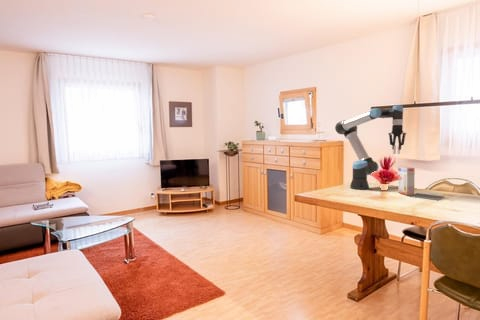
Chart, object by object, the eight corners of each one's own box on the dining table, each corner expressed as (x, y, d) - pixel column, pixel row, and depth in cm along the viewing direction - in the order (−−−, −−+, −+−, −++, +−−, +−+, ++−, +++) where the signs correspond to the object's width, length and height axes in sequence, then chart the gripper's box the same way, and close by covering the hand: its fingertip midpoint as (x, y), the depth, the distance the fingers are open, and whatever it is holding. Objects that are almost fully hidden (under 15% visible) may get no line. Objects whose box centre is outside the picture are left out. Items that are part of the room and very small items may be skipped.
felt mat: (409, 196, 236) (409, 196, 236) (416, 193, 247) (416, 193, 247) (438, 200, 222) (438, 199, 222) (444, 197, 233) (444, 196, 233)
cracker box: (414, 195, 238) (415, 167, 237) (406, 195, 238) (406, 168, 237) (405, 192, 252) (405, 166, 251) (398, 192, 252) (397, 166, 251)
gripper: (385, 124, 259) (384, 153, 261) (405, 124, 248) (404, 154, 250) (389, 125, 264) (388, 153, 266) (409, 124, 253) (408, 153, 255)
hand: (396, 153), depth 258 cm, fingers open, 3 cm apart
